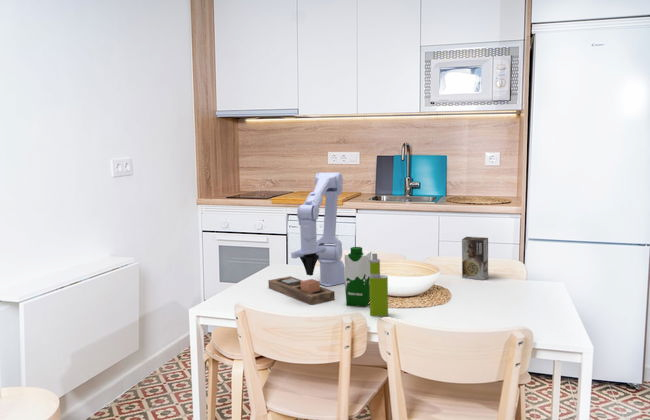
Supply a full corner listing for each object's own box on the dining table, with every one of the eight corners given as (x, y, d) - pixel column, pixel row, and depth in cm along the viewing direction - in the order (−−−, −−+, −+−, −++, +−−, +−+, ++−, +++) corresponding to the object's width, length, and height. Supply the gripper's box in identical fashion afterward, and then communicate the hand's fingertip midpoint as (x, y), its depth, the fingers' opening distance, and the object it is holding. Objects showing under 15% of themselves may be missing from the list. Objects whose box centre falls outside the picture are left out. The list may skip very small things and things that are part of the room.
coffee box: (488, 277, 228) (489, 237, 226) (483, 280, 222) (484, 240, 220) (466, 274, 232) (466, 236, 230) (461, 278, 227) (461, 238, 225)
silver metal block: (292, 287, 220) (292, 278, 219) (299, 289, 216) (299, 280, 215) (281, 289, 217) (281, 280, 216) (288, 291, 213) (287, 283, 212)
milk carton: (343, 306, 193) (341, 248, 191) (350, 298, 202) (349, 243, 199) (368, 308, 190) (367, 249, 188) (374, 300, 199) (373, 244, 196)
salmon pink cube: (312, 288, 208) (311, 279, 207) (319, 290, 204) (319, 281, 203) (300, 290, 205) (300, 281, 205) (308, 293, 201) (308, 283, 201)
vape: (370, 312, 185) (369, 252, 183) (388, 313, 184) (387, 252, 182) (369, 316, 182) (367, 255, 179) (387, 316, 181) (386, 255, 178)
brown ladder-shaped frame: (290, 283, 226) (290, 276, 225) (334, 299, 201) (334, 291, 201) (268, 287, 220) (268, 280, 219) (311, 305, 195) (311, 296, 195)
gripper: (317, 234, 210) (318, 269, 211) (285, 239, 200) (287, 276, 202) (329, 236, 204) (330, 272, 206) (297, 241, 195) (299, 279, 197)
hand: (309, 274), depth 204 cm, fingers closed
